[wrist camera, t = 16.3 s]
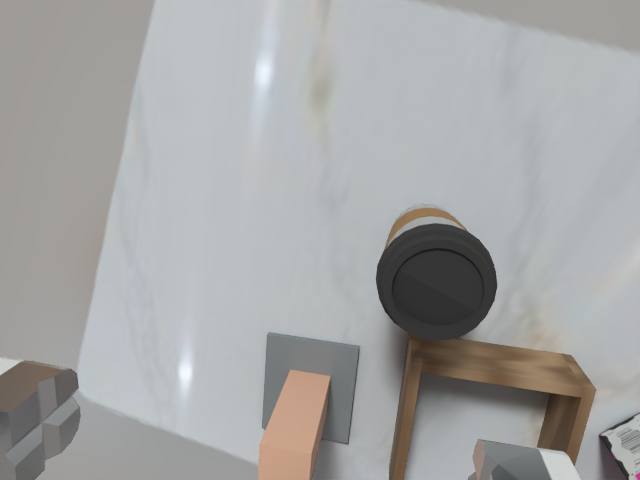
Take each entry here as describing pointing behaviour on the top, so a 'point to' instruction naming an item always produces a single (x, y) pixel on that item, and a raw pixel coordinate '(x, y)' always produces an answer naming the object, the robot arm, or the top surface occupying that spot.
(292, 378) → the terracotta block
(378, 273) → the coffee cup
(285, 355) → the slate coaster
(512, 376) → the walnut bay
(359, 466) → the top surface
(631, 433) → the candy bar box
